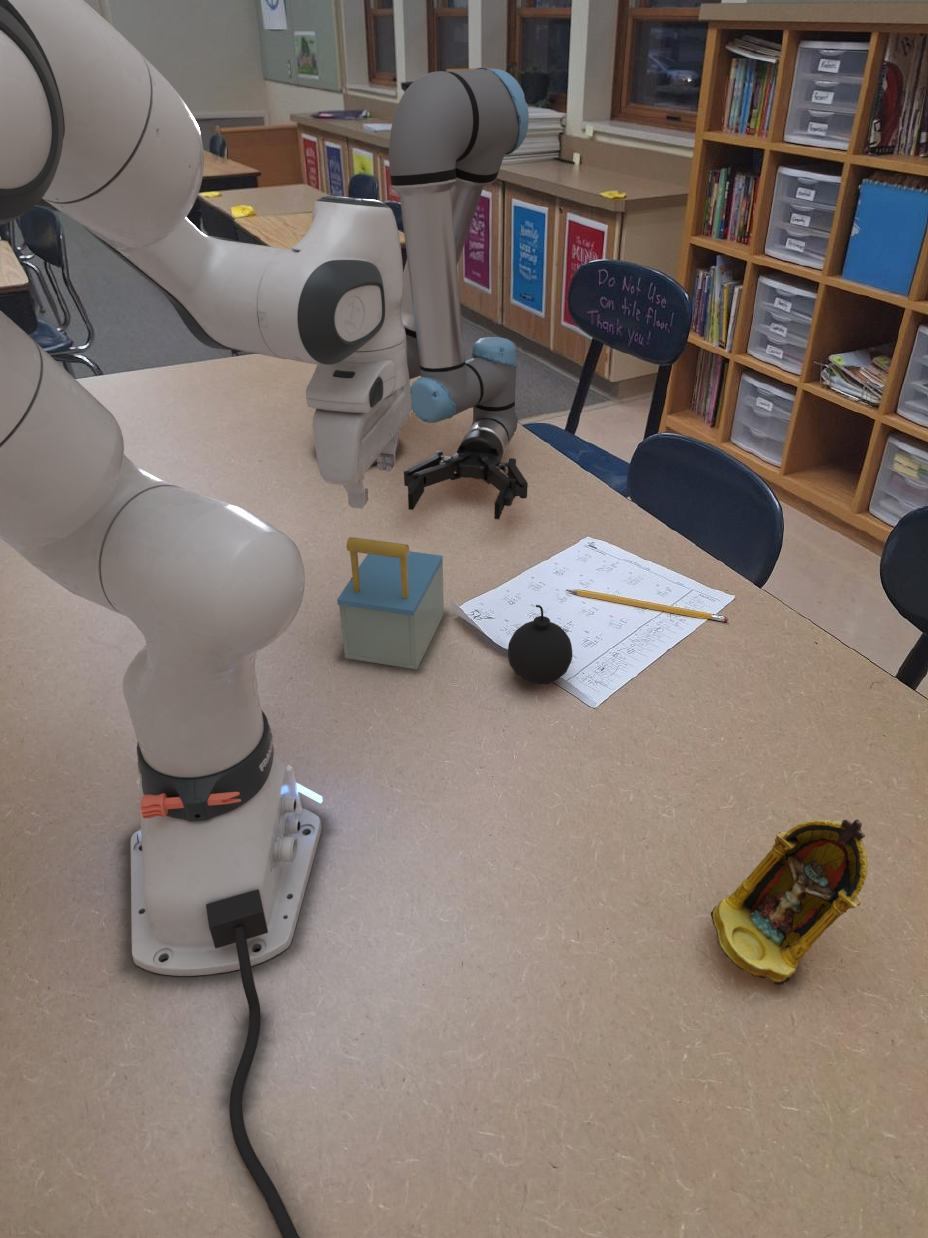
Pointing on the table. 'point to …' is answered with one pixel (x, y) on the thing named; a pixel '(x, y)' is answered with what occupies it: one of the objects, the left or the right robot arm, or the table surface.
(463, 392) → the right robot arm
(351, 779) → the table surface
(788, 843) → the shrine
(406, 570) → the lid
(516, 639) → the bomb
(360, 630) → the chest
